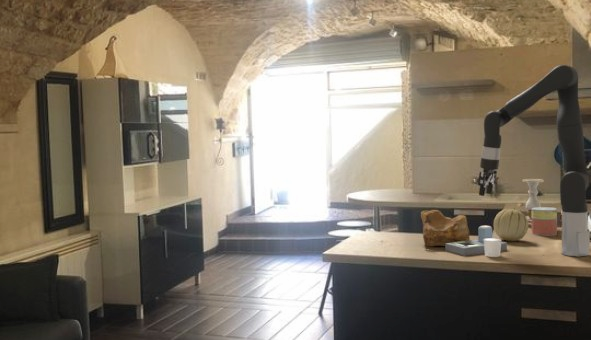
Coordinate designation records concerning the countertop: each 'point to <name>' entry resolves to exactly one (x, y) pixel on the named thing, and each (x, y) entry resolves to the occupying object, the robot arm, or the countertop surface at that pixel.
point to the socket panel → (469, 247)
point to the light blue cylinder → (484, 233)
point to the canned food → (544, 221)
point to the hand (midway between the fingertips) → (485, 194)
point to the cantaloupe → (510, 224)
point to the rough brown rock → (443, 228)
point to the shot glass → (492, 247)
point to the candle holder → (532, 198)
